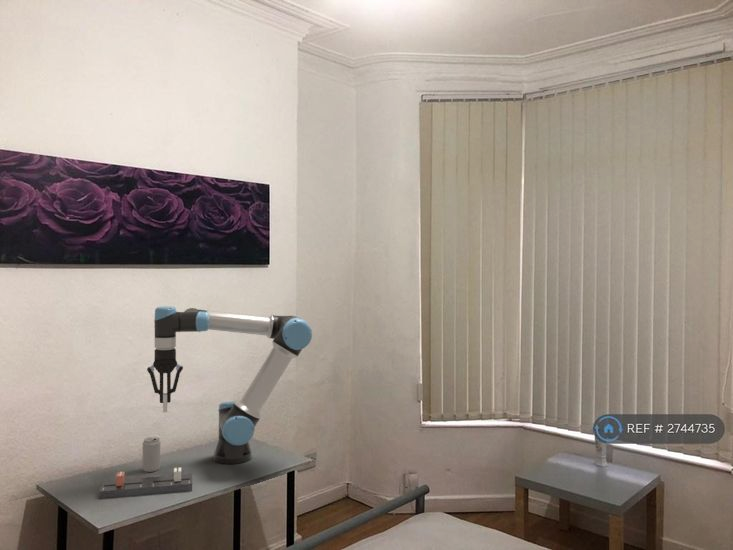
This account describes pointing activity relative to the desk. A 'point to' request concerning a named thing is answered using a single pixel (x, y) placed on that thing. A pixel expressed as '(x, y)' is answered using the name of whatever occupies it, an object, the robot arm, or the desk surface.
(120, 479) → the fader red
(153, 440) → the beverage can
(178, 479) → the fader grey
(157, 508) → the desk surface
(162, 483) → the dark grey slider panel
